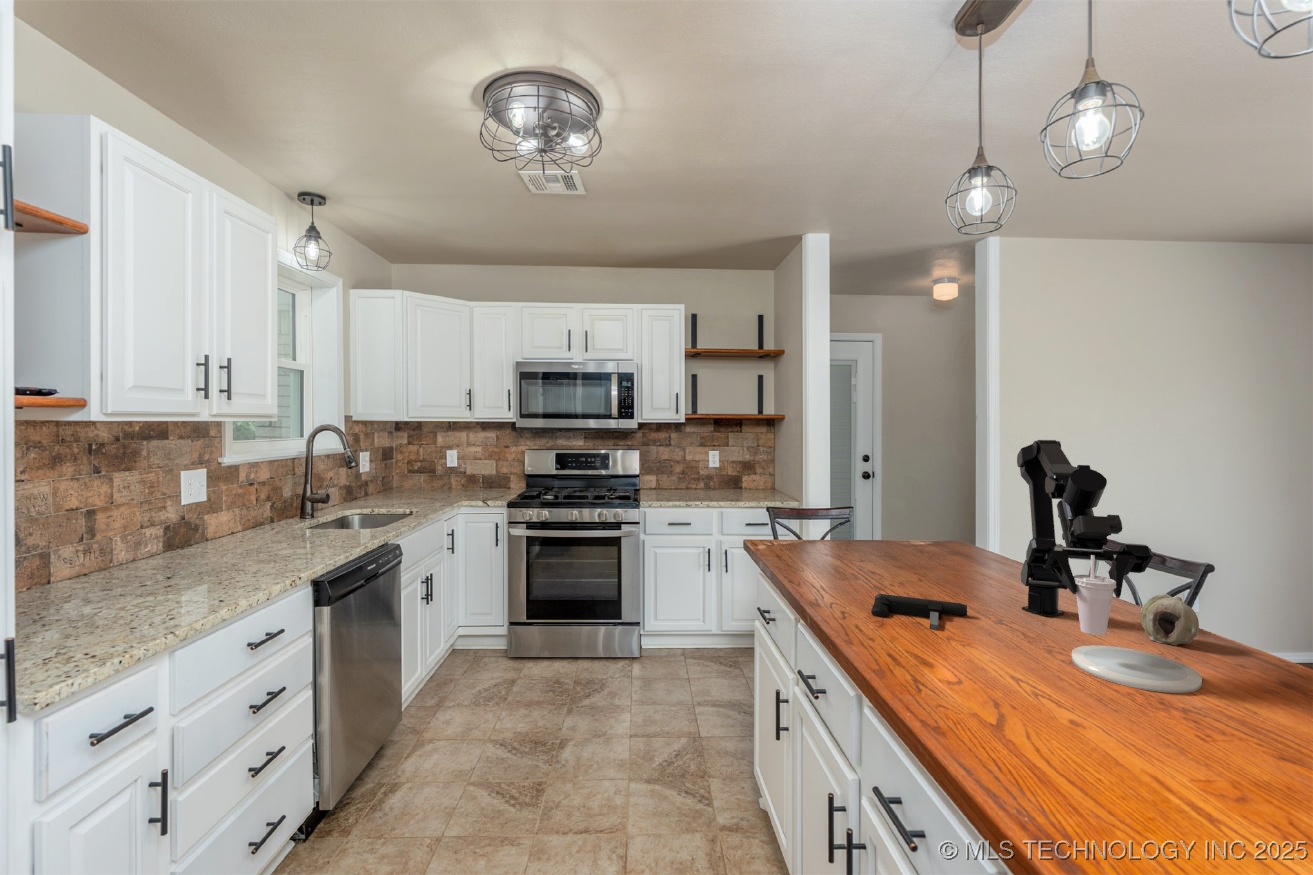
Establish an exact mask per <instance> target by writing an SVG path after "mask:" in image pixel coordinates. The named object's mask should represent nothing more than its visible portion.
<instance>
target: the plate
mask: <svg viewBox="0 0 1313 875" xmlns="http://www.w3.org/2000/svg"><path fill="white" fill-rule="evenodd" d="M1071 662H1072V663H1073V664H1074V665H1075V666H1076V667H1077V668H1078V669H1080V670H1082V671H1084V672H1086V673H1087V674H1089V675H1092V676H1095V678H1099V679H1102V680H1105V681H1108V682H1111V683H1114V684H1118V685H1122V686H1124V687H1129V688H1133V689H1139V690H1144V691H1150V692H1156V693H1165V694H1166V693H1169V694H1188V693H1194V692H1197V691H1199V690H1200V689H1202V686H1203V677H1202V675H1201V674H1200V672H1198V671H1197V670H1195V669H1194V668H1192V667H1190V666H1189V665H1186V664H1184V663H1182V662H1180V661H1176V660H1174V659H1171V658H1169V657H1165V656H1162V655H1160V654H1159V655H1158V654H1155V653H1153V652H1152V653H1151V652H1149V651H1144V650H1138V649H1133V648H1132V649H1131V648H1127V647H1121V646H1112V645H1096V644H1093V645H1092V644H1091V645H1082V646H1078V647H1075V648H1073V649H1072V651H1071Z"/></svg>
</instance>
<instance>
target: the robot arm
mask: <svg viewBox="0 0 1313 875" xmlns="http://www.w3.org/2000/svg"><path fill="white" fill-rule="evenodd" d="M1016 464H1017V465H1016V466H1017V467H1018V468H1019V471H1020V477H1021V478H1022V479H1023V480H1024V481H1025V483H1026V484H1027V485H1028V490H1029V492H1028V493H1029V505H1030V518H1031V533H1032V534H1031V535H1032V538H1031V539H1030V540H1029V543H1028V546H1027V549H1026V552H1025V553H1026V555H1025V560H1024V562H1023V564H1022V568H1021V571H1020V582H1021V583H1022V585H1024V586H1025V587H1028V592H1027V605H1026V606H1022V607H1021V610H1024V611H1027V612H1029V613H1033V614H1038V615H1040V614H1042V615H1041V616H1045V617H1048V616H1051V617H1055V616H1059V615H1058V614H1060V615H1063V614H1064V613H1065V614H1066V611H1064V610H1061V609H1059V592H1060V591H1059V590H1069V592H1071V593H1072V595H1076V593H1077V589H1076V583H1075V580H1074V577H1073V576H1074V575H1073V572H1072V568H1071V565H1070V561H1069V559H1070V560H1082V561H1091V555H1095V562H1096V561H1097V562H1109V563H1110V568H1109V570H1108V577H1109V579H1112V580H1114V581H1116V588H1114V591H1113V595H1114V596H1115V598H1116V599H1120V598H1121V594H1122V591H1123V590H1122V589H1123V583H1124V577H1125V576H1127V575H1129V574H1130V573H1134V574H1136V573H1137V574H1141V573H1145V572H1146V570H1147V568H1148V566H1149V565H1150V563H1151V562H1152V559H1153V557H1154V554H1153V551H1152V549H1151V548H1150V547H1149V545H1146V544H1143V543H1142V544H1139V543H1138V544H1137V543H1125V542H1124V543H1122V544H1121V546H1120V548H1119V550H1111V549H1110V550H1109V549H1105V548H1104V546H1107V545H1108V543H1109V541H1108V537H1109V536H1112V535H1119V534H1120V533H1121V532H1122V531H1123V523H1122V520H1121V516H1120V515H1119V514H1107V515H1105V516H1104V515H1103V516H1100V515H1095V513H1094V510H1093V509H1094V508H1096V507H1098V505H1099V503H1100V500H1101V498H1102V496H1103V494H1104V491H1105V489H1106V487H1107V484H1108V481H1107V480H1108V479H1107V478H1106V477H1105V476H1104V474H1102V473H1101V472H1099V471H1097V470H1094V469H1091V466H1090V465H1087V464H1077V466H1073V465H1072V464H1071V461H1070V460H1069V458H1068V457H1067V455H1066V454H1065V453H1064V451H1063V449H1062V444H1061V442H1060V440H1056V439H1038V440H1034V441H1033V443H1031V444H1029V445H1026V446H1024V447H1021V448H1020V450H1019V451H1018V453H1017V456H1016ZM1053 500H1059V501H1058V502H1057V504H1056V508H1057V517H1058V518H1059V521H1060V522H1059V523H1060V526H1061V531H1062V534H1061V538H1062V540H1063V541H1064V544H1065V546H1064V545H1063V544H1061V543H1057V542H1056V532H1055V529H1056V528H1055V518H1054V507H1053V505H1054V504H1053Z"/></svg>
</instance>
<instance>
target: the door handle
mask: <svg viewBox="0 0 1313 875" xmlns="http://www.w3.org/2000/svg"><path fill="white" fill-rule="evenodd" d="M870 613H871V616H873V617H876V618H877V617H878V618H887V617H888V616H889V614H894V615H900V616H909V617H914V618H915V617H916V618H923V619H928V620H929V626H928V628H929V630H933V631H939V621H942V616H943V615H945V616H953V617H967V616H968V604H964V603H962V602H961V603H960V602H955V601H954V602H953V601H944V600H937V599H936V600H935V599H930V598H929V599H928V598H921V597H920V598H919V597H911V596H902V595H893V594H885V593H878V594H876V595H875V597H874V602H873V605H872V608H871V612H870Z"/></svg>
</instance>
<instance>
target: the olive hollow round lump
mask: <svg viewBox="0 0 1313 875" xmlns="http://www.w3.org/2000/svg"><path fill="white" fill-rule="evenodd" d="M1140 613H1141V615H1142V616H1141V626H1142V627H1143V630H1144V631H1145V632H1144V633H1145V634H1146V636H1147V637H1149V640H1151V641H1153V642H1156V643H1158V644H1166V645H1171V646H1179V645H1189V644H1191V643H1192V642H1193V640H1194V639H1195V638H1196V637H1198V635H1199V630H1200V624H1199V618H1198V615H1197V613H1196V612H1195V610H1194V609H1193V608H1192V607H1191V606H1189V605H1188V604H1187V603H1185V602H1184V601H1183V599H1182V597H1180V596H1174V597H1173V596H1171V595H1169V594H1167V593H1162V594H1157V595H1154V596H1152V597H1151V598H1149V599H1148V600H1147V601H1146V602H1145V603H1144V604H1143V605H1142V607H1141V609H1140Z"/></svg>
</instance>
